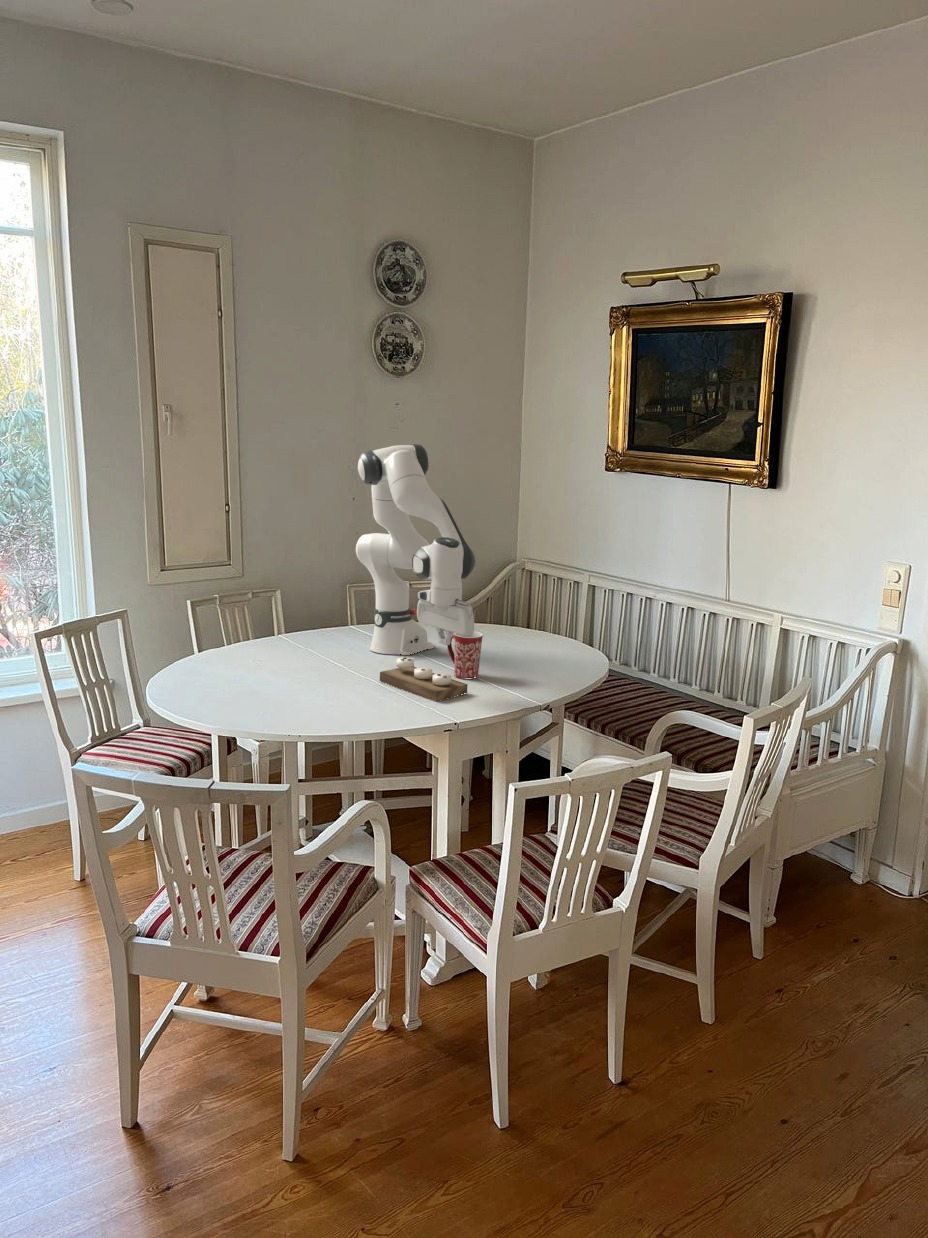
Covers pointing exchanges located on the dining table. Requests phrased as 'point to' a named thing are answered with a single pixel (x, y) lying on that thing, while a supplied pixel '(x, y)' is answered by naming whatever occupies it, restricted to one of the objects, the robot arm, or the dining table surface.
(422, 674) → the button one
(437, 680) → the button two
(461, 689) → the button board
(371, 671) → the dining table surface
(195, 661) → the dining table surface
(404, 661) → the button three
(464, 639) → the mug
